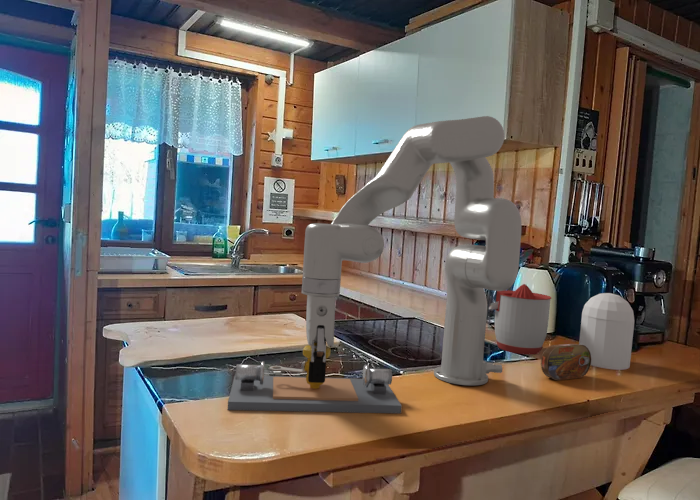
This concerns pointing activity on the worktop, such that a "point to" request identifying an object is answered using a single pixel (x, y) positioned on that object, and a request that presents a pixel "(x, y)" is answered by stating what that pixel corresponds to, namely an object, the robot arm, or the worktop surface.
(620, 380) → the worktop surface
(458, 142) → the robot arm
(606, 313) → the container
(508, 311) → the citrus juicer
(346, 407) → the pipe rig base
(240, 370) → the pipe stubs
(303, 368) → the pressure relief valve
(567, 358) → the tin
